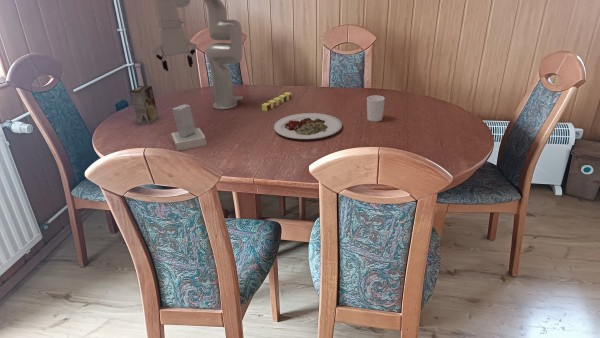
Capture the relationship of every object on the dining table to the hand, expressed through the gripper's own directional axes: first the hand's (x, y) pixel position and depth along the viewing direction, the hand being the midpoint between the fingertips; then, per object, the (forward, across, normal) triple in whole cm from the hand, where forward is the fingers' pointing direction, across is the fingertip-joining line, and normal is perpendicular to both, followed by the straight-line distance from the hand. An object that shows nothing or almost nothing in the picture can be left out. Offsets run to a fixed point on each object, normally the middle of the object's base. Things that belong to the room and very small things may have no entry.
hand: (178, 68), depth 164 cm
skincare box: (+26, +3, +8) cm, 27 cm away
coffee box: (+30, +14, -30) cm, 45 cm away
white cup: (+31, -77, +30) cm, 88 cm away
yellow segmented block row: (+31, -51, -15) cm, 62 cm away
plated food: (+30, -46, +22) cm, 60 cm away
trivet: (+30, +3, +8) cm, 31 cm away
